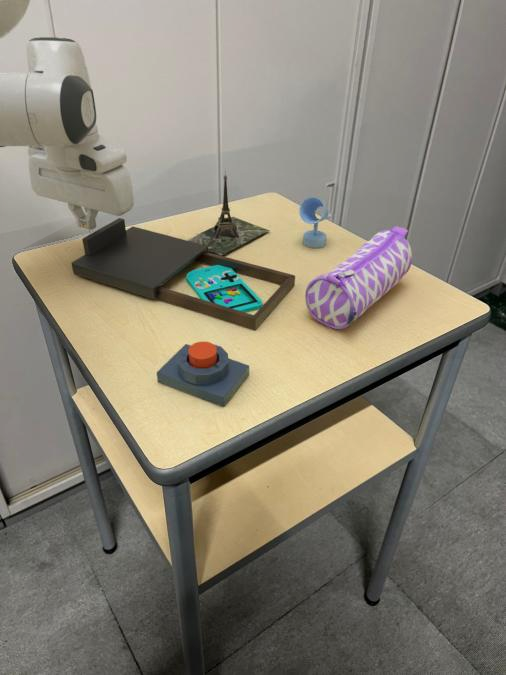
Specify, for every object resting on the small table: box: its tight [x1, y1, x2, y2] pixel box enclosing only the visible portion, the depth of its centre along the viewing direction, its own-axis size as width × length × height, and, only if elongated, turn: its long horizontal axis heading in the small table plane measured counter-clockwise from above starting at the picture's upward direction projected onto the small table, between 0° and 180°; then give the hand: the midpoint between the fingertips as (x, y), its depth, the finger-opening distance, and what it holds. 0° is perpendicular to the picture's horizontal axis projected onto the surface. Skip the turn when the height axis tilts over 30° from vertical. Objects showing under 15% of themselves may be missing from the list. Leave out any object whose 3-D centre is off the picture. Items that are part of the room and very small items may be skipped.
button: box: [188, 341, 217, 369], centre depth 66 cm, size 4×4×2 cm
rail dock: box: [155, 251, 296, 331], centre depth 89 cm, size 35×15×2 cm, turn 63°
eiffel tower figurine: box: [186, 169, 271, 256], centre depth 99 cm, size 15×10×13 cm
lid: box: [71, 217, 209, 300], centre depth 90 cm, size 17×17×5 cm
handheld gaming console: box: [185, 265, 263, 313], centre depth 86 cm, size 8×1×15 cm
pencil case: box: [304, 225, 413, 330], centre depth 82 cm, size 22×9×10 cm, turn 143°
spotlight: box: [298, 196, 330, 249], centre depth 98 cm, size 5×10×7 cm
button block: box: [156, 343, 250, 408], centre depth 68 cm, size 10×7×4 cm
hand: (87, 227), depth 93 cm, fingers closed
